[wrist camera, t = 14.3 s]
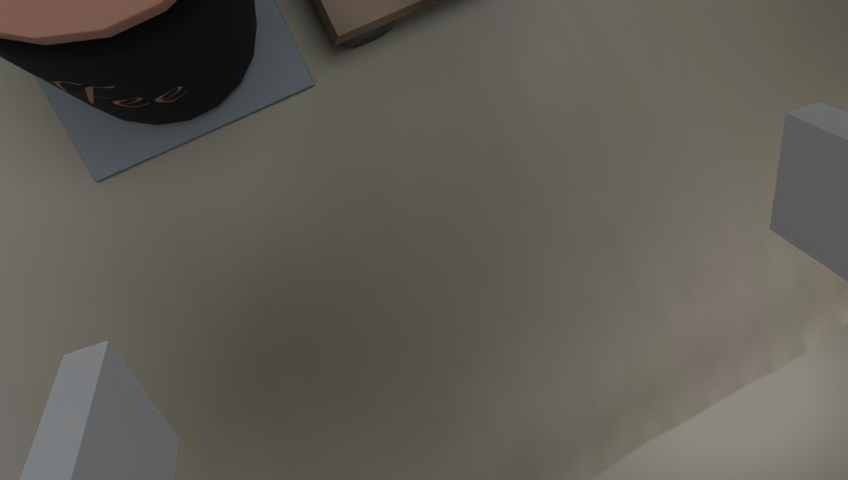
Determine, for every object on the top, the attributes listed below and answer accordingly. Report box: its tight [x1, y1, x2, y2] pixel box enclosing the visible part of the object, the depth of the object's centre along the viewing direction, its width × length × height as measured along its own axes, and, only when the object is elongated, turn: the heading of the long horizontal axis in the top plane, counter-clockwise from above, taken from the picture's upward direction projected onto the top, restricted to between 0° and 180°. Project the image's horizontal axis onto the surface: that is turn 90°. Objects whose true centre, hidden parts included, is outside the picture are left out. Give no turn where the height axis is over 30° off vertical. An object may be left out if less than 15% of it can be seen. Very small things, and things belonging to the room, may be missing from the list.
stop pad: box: [36, 0, 315, 182], centre depth 33 cm, size 13×12×1 cm
